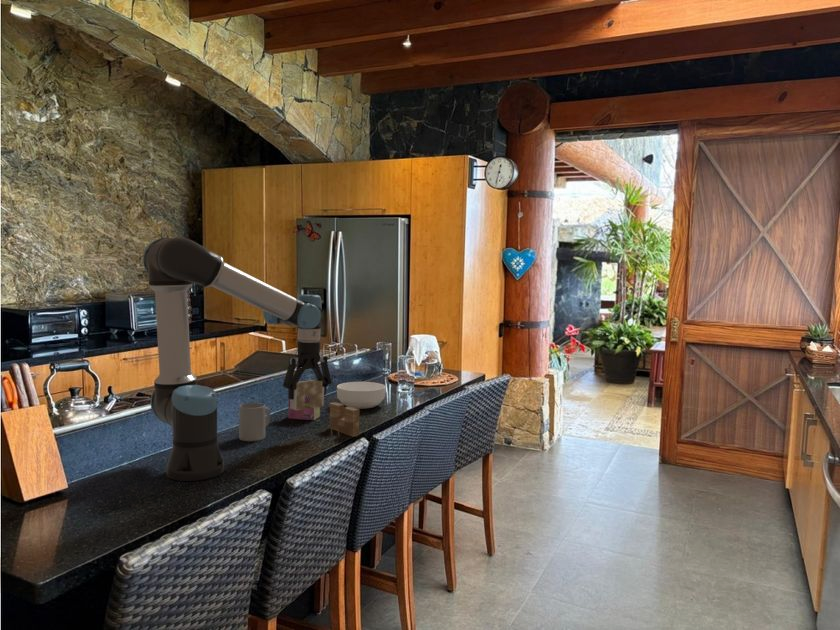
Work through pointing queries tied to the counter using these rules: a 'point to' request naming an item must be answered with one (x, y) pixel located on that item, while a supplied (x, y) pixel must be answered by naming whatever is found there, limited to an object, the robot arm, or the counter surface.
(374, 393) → the bowl
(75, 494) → the counter surface
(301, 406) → the notched wooden horseshoe piece
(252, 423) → the mug
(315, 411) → the box
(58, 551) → the counter surface
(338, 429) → the notched wooden block
